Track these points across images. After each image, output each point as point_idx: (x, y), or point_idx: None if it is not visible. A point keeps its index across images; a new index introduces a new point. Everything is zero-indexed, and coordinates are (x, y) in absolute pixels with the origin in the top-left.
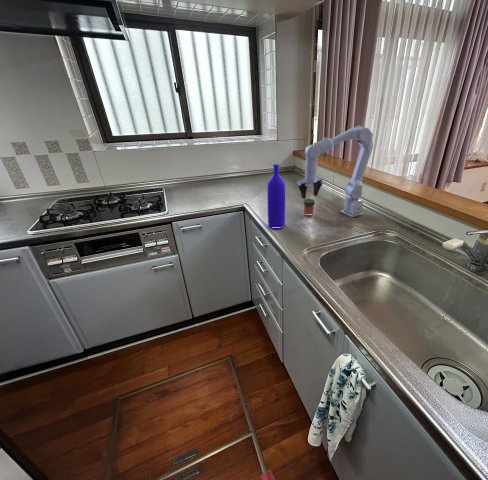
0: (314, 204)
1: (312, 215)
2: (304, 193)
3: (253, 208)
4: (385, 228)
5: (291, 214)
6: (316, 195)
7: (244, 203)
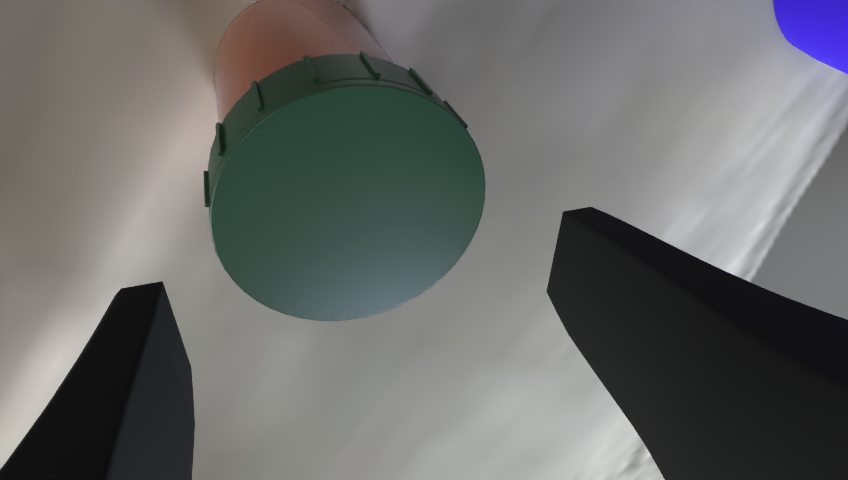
0: (252, 84)
1: (265, 3)
2: (737, 280)
3: None
4: None
5: (494, 191)
6: (146, 294)
7: (638, 467)
